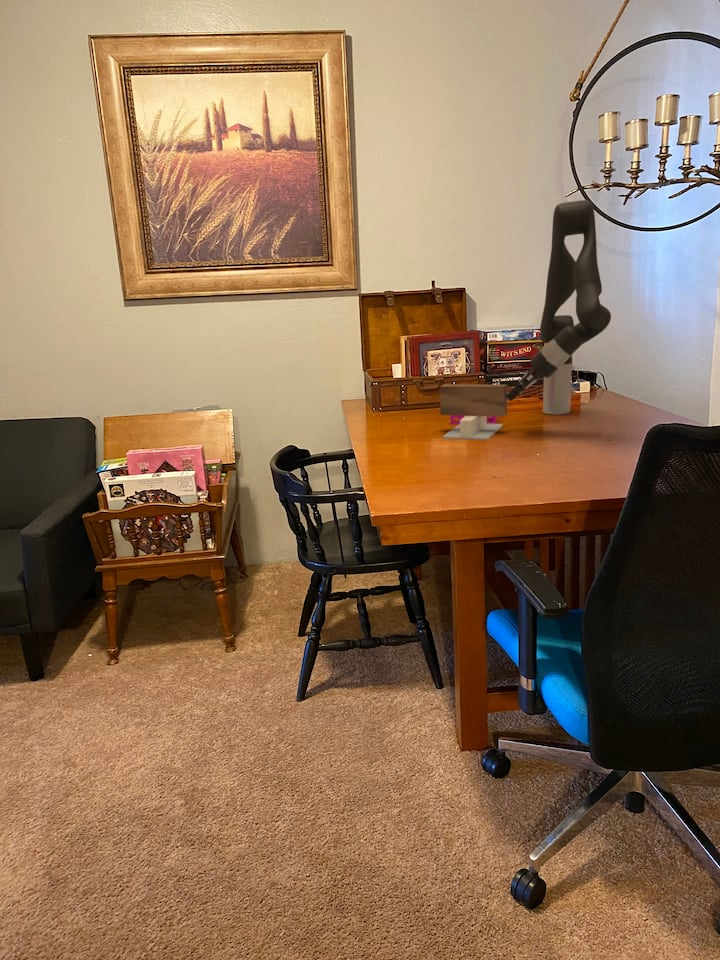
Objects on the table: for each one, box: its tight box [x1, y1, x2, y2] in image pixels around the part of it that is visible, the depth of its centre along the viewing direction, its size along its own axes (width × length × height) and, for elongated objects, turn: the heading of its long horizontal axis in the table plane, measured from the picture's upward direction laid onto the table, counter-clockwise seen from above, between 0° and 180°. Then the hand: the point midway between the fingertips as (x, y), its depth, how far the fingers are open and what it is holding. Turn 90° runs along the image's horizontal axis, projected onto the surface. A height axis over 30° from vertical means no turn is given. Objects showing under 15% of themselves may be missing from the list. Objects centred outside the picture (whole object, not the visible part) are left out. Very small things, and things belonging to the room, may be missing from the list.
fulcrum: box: [441, 416, 504, 441], centre depth 216 cm, size 22×14×6 cm, turn 157°
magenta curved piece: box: [450, 415, 498, 425], centre depth 230 cm, size 15×6×8 cm, turn 82°
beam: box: [439, 383, 508, 418], centre depth 214 cm, size 4×20×9 cm, turn 67°
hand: (511, 396), depth 209 cm, fingers open, 8 cm apart
